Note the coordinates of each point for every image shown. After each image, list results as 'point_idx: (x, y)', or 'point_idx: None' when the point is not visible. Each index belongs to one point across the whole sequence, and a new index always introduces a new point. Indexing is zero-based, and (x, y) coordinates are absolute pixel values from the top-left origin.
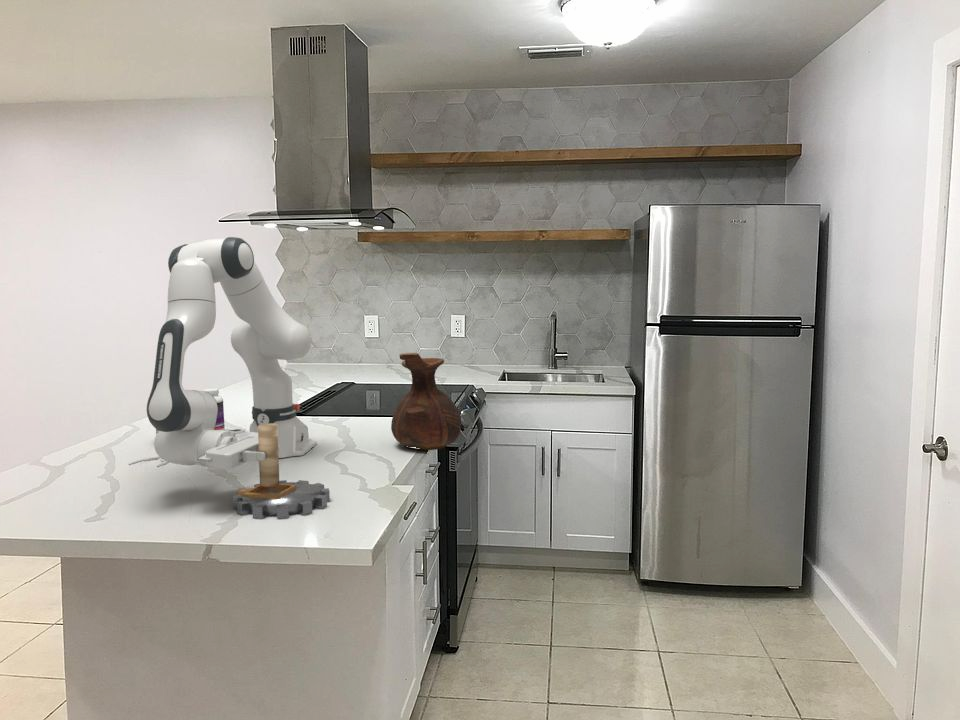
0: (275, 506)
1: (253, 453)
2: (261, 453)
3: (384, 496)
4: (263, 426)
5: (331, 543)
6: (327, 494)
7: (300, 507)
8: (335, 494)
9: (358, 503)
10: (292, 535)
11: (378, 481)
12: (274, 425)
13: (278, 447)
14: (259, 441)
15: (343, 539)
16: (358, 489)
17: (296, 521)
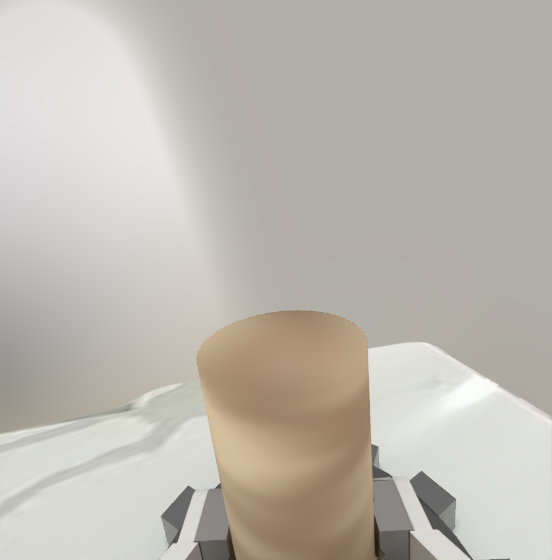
0: (443, 524)
1: (463, 557)
2: (411, 489)
3: None
4: (333, 340)
5: (449, 368)
6: None
7: (375, 465)
8: (190, 483)
9: None
10: (489, 426)
11: (92, 439)
12: (272, 319)
13: (212, 490)
14: (368, 481)
15: (423, 364)
16: (151, 450)
17: (422, 464)
